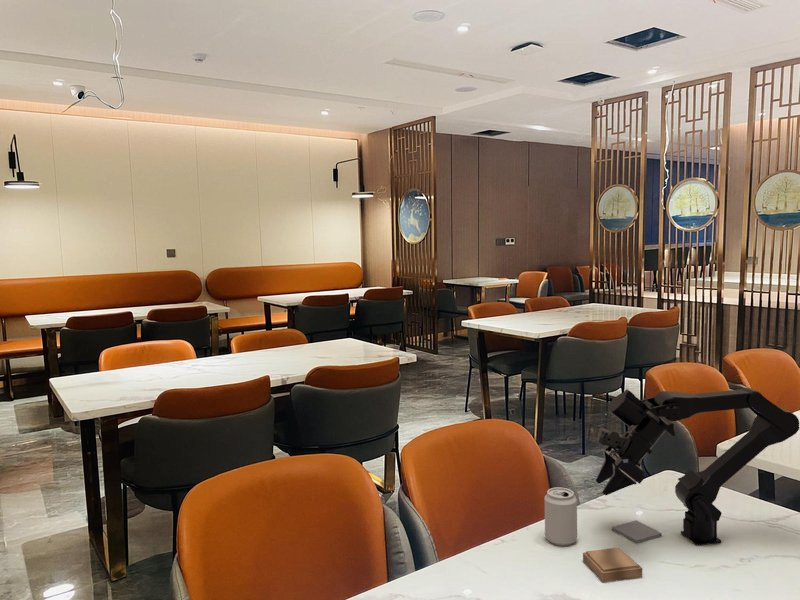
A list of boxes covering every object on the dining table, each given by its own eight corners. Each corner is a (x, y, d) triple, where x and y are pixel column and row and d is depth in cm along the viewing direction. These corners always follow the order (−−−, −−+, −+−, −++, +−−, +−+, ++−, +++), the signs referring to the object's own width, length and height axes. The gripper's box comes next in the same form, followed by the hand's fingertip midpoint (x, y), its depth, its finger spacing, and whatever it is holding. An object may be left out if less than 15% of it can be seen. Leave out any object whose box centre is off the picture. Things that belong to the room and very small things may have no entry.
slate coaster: (636, 523, 155) (636, 520, 155) (661, 536, 148) (661, 532, 148) (611, 530, 152) (611, 526, 152) (636, 543, 145) (636, 540, 145)
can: (578, 548, 143) (578, 498, 142) (545, 546, 145) (544, 497, 144) (576, 533, 151) (575, 486, 150) (544, 531, 152) (543, 484, 151)
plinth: (620, 556, 139) (620, 545, 139) (642, 577, 130) (642, 566, 130) (583, 561, 138) (582, 550, 137) (602, 582, 129) (602, 571, 128)
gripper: (607, 408, 155) (568, 456, 156) (622, 423, 136) (578, 477, 138) (644, 437, 154) (604, 484, 155) (664, 456, 135) (619, 509, 137)
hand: (600, 488), depth 146 cm, fingers open, 9 cm apart
